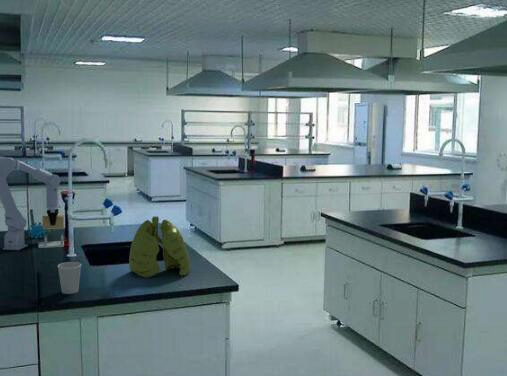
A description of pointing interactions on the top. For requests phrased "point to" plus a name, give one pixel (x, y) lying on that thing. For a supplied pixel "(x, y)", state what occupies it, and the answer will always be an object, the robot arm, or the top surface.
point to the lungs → (148, 248)
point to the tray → (51, 243)
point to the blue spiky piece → (38, 230)
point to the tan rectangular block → (58, 224)
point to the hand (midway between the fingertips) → (52, 224)
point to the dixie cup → (69, 276)
